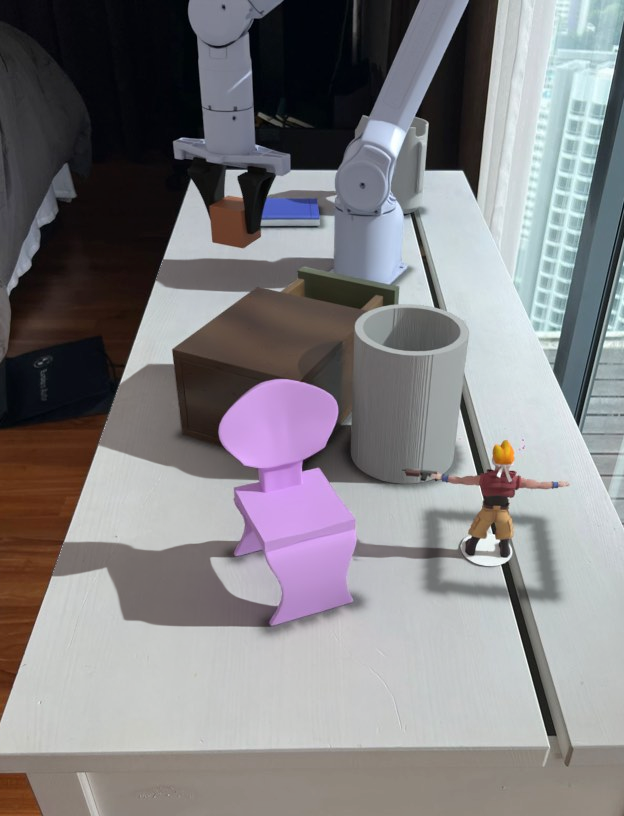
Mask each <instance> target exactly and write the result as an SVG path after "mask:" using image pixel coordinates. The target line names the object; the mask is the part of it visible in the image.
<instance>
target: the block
mask: <svg viewBox="0 0 624 816" xmlns="http://www.w3.org/2000/svg"><path fill="white" fill-rule="evenodd" d="M209 209H210V218H209V221H210V231H211V242H212V243H213V244H218V245H224V246H228V247H233V248H239V249H245V248H246V247H248V246H249V245H251V244H253V243H254V242H255V241H257V240H259V239H260V238H262V228H261V227H262V226H260V230H259V231H257V232H256V233H254V234H248V233H247V229H246V223H245V208H244V202H243V197H240V196H234V195H226V196H225V198H223V199H221V200H219V201H217V202H216V203H214V204H212V205H210V206H209Z"/></svg>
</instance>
